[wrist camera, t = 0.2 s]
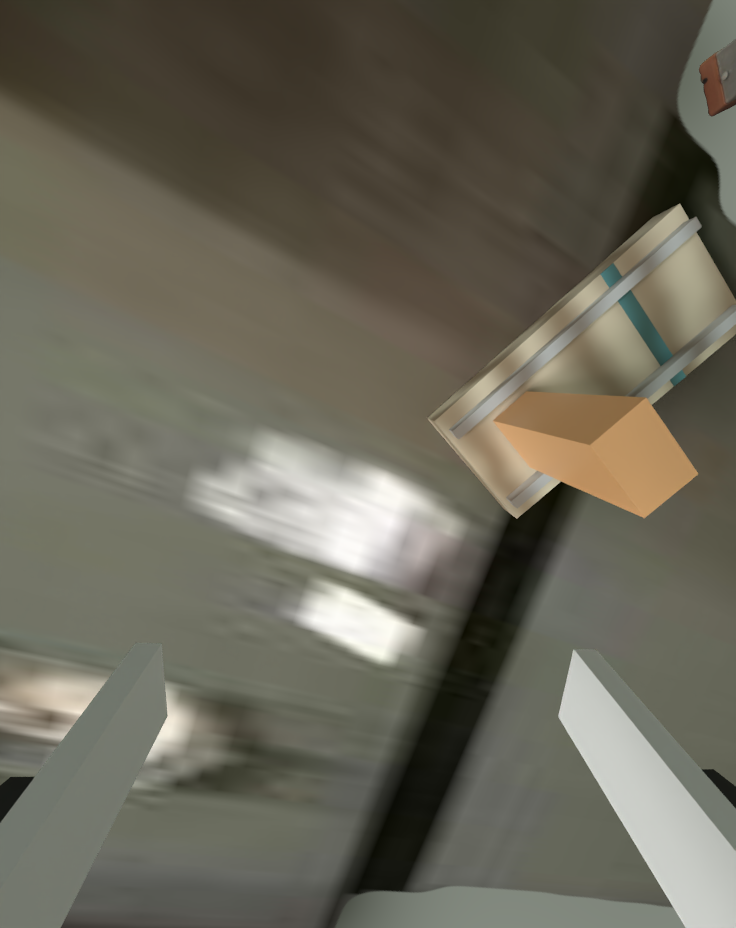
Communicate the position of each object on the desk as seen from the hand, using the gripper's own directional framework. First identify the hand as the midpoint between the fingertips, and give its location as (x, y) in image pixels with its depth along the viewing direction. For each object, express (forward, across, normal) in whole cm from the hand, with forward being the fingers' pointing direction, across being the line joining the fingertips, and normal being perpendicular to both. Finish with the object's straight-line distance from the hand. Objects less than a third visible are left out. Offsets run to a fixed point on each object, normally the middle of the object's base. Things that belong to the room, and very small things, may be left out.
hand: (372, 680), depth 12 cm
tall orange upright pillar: (+25, +16, +5) cm, 30 cm away
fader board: (+28, +22, +10) cm, 37 cm away
